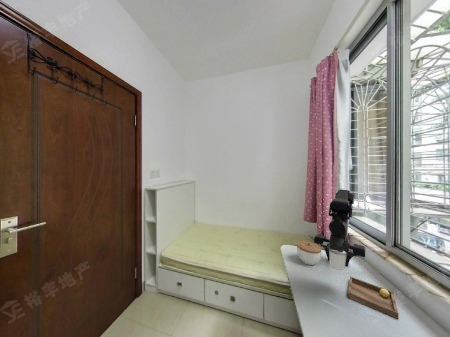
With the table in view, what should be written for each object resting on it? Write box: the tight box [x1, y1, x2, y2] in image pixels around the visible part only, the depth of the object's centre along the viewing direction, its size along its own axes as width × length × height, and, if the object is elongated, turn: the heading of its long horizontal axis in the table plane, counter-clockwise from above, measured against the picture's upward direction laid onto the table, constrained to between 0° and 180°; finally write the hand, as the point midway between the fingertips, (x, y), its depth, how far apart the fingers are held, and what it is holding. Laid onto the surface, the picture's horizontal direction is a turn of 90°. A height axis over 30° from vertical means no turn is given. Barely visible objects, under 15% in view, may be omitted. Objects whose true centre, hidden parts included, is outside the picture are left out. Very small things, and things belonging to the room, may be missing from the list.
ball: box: [380, 288, 389, 297], centre depth 71 cm, size 3×3×3 cm
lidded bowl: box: [296, 240, 322, 266], centre depth 96 cm, size 13×13×11 cm
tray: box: [347, 276, 400, 320], centre depth 70 cm, size 15×15×2 cm
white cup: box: [328, 248, 347, 272], centre depth 75 cm, size 7×7×7 cm
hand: (337, 263), depth 75 cm, fingers closed on white cup, 6 cm apart
